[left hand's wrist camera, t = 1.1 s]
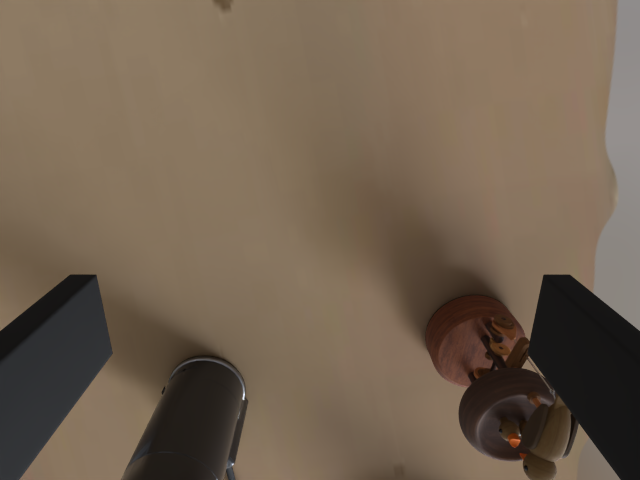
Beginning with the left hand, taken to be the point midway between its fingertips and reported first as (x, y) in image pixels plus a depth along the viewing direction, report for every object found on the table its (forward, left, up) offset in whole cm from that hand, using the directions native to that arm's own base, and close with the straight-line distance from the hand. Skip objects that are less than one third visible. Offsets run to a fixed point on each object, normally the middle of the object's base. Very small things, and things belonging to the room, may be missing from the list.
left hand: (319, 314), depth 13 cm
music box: (+23, +18, -32) cm, 43 cm away
